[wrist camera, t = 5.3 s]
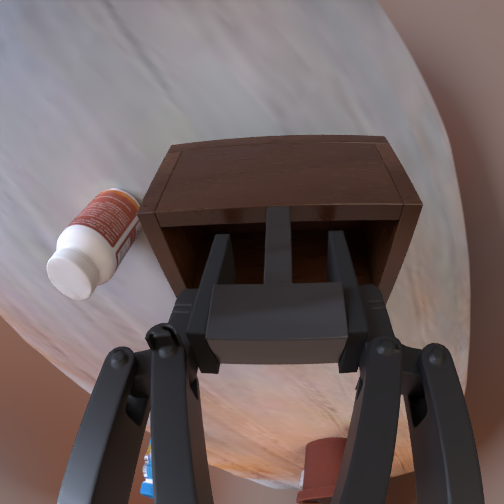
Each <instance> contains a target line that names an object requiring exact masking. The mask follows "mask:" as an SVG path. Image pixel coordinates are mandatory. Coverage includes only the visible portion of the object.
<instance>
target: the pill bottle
mask: <svg viewBox="0 0 504 504" xmlns="http://www.w3.org/2000/svg"><path fill="white" fill-rule="evenodd" d="M139 207H140V204H139V203H138V202H137V200H136V199H135V198H134V197H133V196H132V195H130V194H129V193H127V192H125V191H123V190H120V189H107V190H105V191H103V192H101V193H100V194H99V195H98V196H96V197H95V198H94V199H93V200H92V202H90V203H89V204H88V206H87V207H86V208H85V209H84V210H83V211H82V212H81V213H80V214H79V215H78V216H77V217H76V218H75V219H74V220H73V221H72V222H71V223H70V224H69V225H68V227H67V228H66V229H65V230H64V231H63V232H62V234H61V235H60V237H59V239H58V241H57V251H56V252H55V253H54V254H53V256H52V257H51V258H50V259H49V261H48V263H47V274H48V277H49V279H50V281H51V282H52V284H53V285H54V286H55V287H56V288H57V289H58V290H59V291H60V292H61V293H63V294H64V295H66V296H67V297H69V298H72V299H75V300H85V299H87V298H89V297H90V296H91V294H92V293H93V291H94V290H95V288H96V287H97V285H101V284H104V283H106V282H107V281H108V280H110V279H111V277H112V276H113V274H114V273H115V271H116V270H117V268H118V266H119V264H120V263H121V261H122V260H123V258H124V256H125V255H126V253H127V252H128V250H129V248H130V247H131V245H132V244H133V242H134V241H135V239H136V237H137V236H138V234H139V233H140V231H141V229H142V226H141V223H140V221H139V219H138V217H137V211H138V209H139Z"/></svg>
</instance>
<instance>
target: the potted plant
mask: <svg viewBox="0 0 504 504" xmlns="http://www.w3.org/2000/svg"><path fill="white" fill-rule="evenodd" d="M346 442H347V439H346V438H326V439H320V440H316V441H313V442H311V443H309V444H307V446H306V456H305V467H304V478H303V488H302V491H299V492H298V494H297V501H296V502H297V503H299V504H330V503H331V499H332V496H333V493H334V489H335V486H336V482H337V478H338V475H339V471H340V467H341V463H342V459H343V455H344V451H345V446H346Z"/></svg>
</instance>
